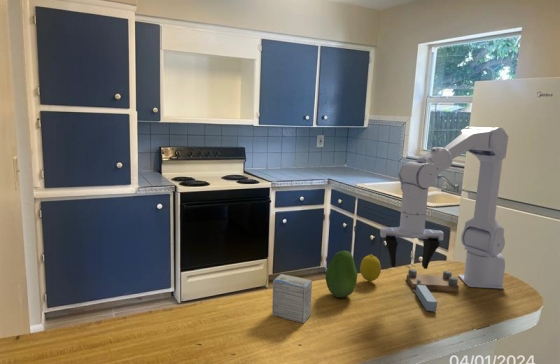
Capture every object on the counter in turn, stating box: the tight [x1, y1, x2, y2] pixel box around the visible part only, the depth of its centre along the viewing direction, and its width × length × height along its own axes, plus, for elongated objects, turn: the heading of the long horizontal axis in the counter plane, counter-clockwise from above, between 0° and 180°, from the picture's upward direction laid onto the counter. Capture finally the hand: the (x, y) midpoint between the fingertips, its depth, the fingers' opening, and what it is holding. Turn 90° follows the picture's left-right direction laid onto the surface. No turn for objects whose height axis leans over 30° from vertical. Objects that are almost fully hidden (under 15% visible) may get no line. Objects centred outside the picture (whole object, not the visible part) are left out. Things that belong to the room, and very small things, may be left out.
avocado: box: [325, 250, 358, 299], centre depth 101 cm, size 8×8×12 cm
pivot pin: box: [412, 279, 421, 294], centre depth 106 cm, size 3×3×3 cm
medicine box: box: [271, 273, 313, 324], centre depth 91 cm, size 8×4×9 cm, turn 65°
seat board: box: [406, 268, 460, 293], centre depth 111 cm, size 12×7×3 cm, turn 86°
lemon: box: [359, 253, 382, 283], centre depth 111 cm, size 6×6×8 cm
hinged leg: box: [415, 285, 438, 312], centre depth 100 cm, size 11×2×2 cm, turn 176°
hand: (408, 266), depth 98 cm, fingers open, 7 cm apart
